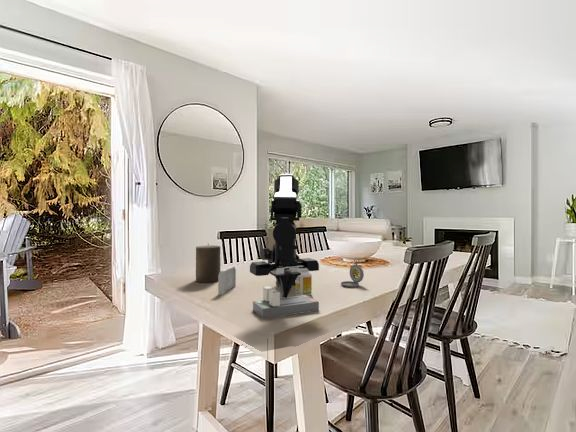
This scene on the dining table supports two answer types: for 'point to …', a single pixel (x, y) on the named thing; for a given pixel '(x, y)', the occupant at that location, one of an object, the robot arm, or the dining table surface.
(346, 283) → the pocket watch
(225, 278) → the light switch
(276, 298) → the block
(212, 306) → the dining table surface
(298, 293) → the supplement bottle
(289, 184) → the robot arm
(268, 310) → the panel
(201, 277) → the pillar candle
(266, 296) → the block
